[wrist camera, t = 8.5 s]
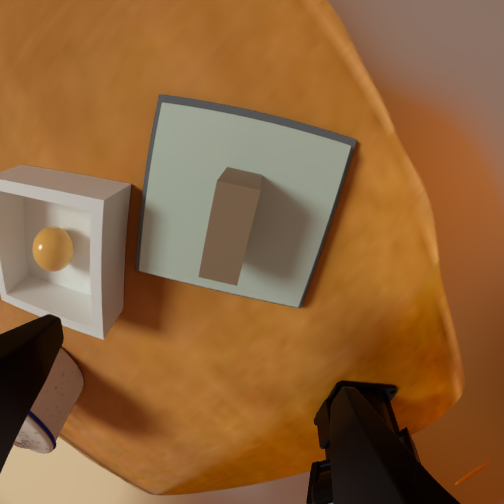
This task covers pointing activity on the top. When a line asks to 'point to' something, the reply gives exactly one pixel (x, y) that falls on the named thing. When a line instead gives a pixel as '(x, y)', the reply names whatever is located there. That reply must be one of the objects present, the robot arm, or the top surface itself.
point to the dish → (90, 238)
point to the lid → (237, 203)
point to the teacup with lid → (51, 406)
